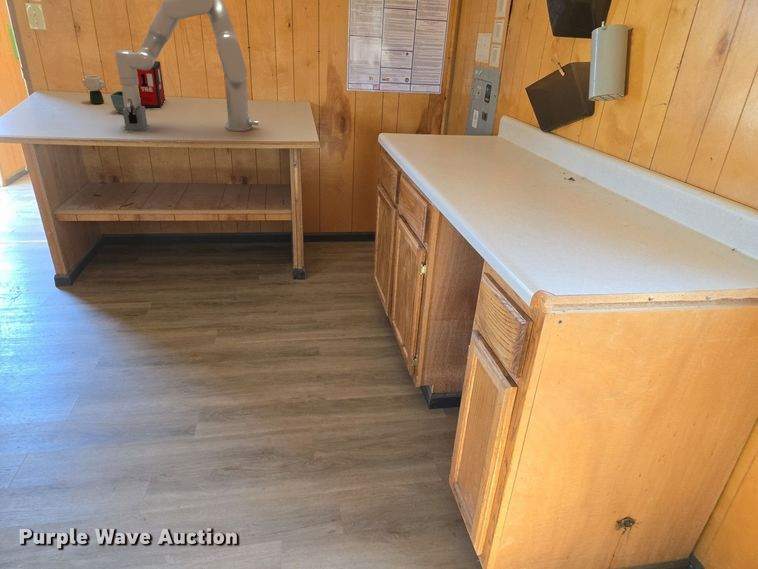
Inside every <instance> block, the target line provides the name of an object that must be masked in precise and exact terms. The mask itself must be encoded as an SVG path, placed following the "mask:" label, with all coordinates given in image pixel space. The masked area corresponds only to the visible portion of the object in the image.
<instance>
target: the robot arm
mask: <svg viewBox="0 0 758 569" xmlns="http://www.w3.org/2000/svg"><path fill="white" fill-rule="evenodd" d="M205 14H206V15H207V17H208V19H209V21H210V24H211V28H212V30H213V34H214V38H215V44H216V49H217V53H218V57H219V60H220V62H221V63H220V64H221V66H222V69H223V73H224V81H225V82H224V83H225V85H224V86H225V97H226V98H225V99H226V108H227V109H226V111H227V123H226V124H225V125H224V128H225V129H226V130H228V131H233V132H247V130H248V131H250V130H252V129H253V126H259V121H258V120H256V119H251V118H250V116H249V105H248V104H249V103H248V102H249V99H248V86H247V85H248V84H247V82H248V81H247V75H248V71H247V67H246V64H245V60H244V56H243V53H242V49H241V46H240V42H239V40H238V38H237V35H236V33H235V30H234V26H233V23H232V20H231V17H230V14H229V11H228V9H227V7H226V4H225V3H224V2H223V1H222V0H162V2H161V5H160V6H159V7H158V10H157V12H156V14H155V16H154V17H153V19H152V21H151V23H150V25H149V27H148V32H147V34H146V36H145V38H144V39H143V41H142V44H141V46H140V47H139V49H138V51H137V52H136V51H135V52H134V51H132V50H130V49H118V50H116V51H115V53H114V55H115V61H116V62H115V63H116V67H117V72H118V78H119V79H118V80H119V84H120V85H121V87H122V90H121V91H122V92H123V100H124V107H125V109H128V118H129V123H130V124H137V118H136V114H135V109H136V108H137V107H138V106H141V101H140V95H139V88H138V85H139V81H138V75H137V69H139V70H150V69H151V68H152V67H153V65H154V63H155V61H156V60H157V59H158V57H159V55H160V53H161V51H162V50H163V48H164V46H165V44H166V43H168V41H169V40H170V38H171V36H172V35H173V33H174V31H175V29H176V27H177V25H178V24H179V22H180V20H182V19H187V18H191V17H196V16H197V17H198V16H203V15H205Z"/></svg>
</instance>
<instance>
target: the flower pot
mask: <svg viewBox="0 0 758 569" xmlns="http://www.w3.org/2000/svg"><path fill="white" fill-rule="evenodd" d="M110 99H111V102H112V105H113V107H114V108H115V110H116V111H117V112H118V113H120V114H123V109H124V108H125V107H124V100H123V92H122V90H121V91H120V90H117V91H115V92H114V93H111V94H110Z"/></svg>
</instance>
